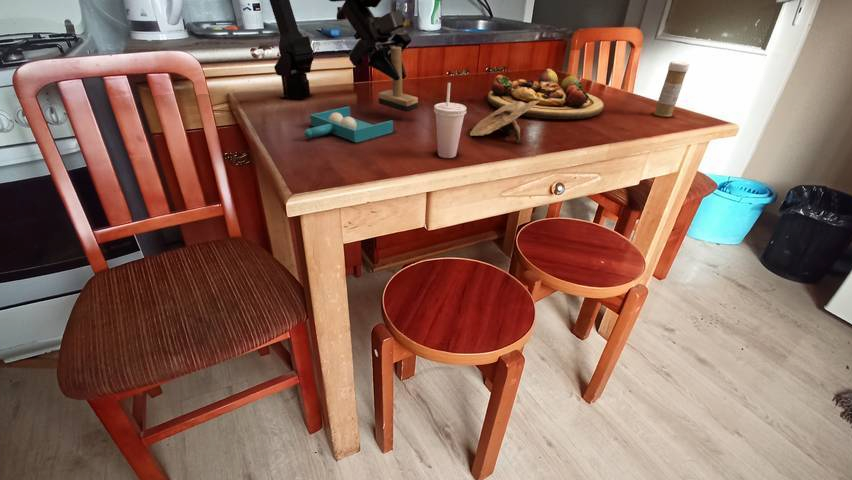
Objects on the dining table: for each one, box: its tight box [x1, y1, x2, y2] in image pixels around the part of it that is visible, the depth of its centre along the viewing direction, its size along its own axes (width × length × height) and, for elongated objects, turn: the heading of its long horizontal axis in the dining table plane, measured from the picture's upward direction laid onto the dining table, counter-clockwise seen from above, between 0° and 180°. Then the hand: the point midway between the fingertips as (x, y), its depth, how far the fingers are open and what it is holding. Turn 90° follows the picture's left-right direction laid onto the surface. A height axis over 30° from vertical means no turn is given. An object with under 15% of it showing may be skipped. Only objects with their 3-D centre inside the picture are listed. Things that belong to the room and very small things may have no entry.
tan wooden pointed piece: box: [469, 101, 539, 144], centre depth 102 cm, size 18×14×8 cm
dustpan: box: [304, 106, 394, 143], centre depth 102 cm, size 18×16×3 cm
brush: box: [377, 47, 419, 113], centre depth 109 cm, size 4×10×13 cm, turn 47°
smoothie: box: [433, 82, 467, 159], centre depth 89 cm, size 6×6×14 cm
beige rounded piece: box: [328, 112, 343, 125], centre depth 104 cm, size 4×4×4 cm
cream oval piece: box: [341, 116, 357, 130], centre depth 101 cm, size 4×4×4 cm
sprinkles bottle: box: [653, 60, 690, 118], centre depth 119 cm, size 5×5×14 cm
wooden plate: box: [486, 68, 605, 120], centre depth 126 cm, size 32×32×8 cm
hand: (401, 78), depth 108 cm, fingers closed on brush, 2 cm apart
